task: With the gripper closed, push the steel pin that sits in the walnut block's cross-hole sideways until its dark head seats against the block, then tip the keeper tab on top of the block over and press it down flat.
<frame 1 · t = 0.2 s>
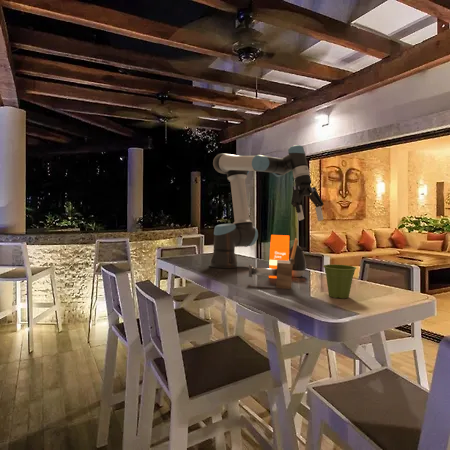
hand: (311, 220, 166), 28 cm above the table, tool tilted 20°, fingers open, 13 cm apart
hitch block: (283, 286, 150), on the table
pin: (269, 272, 150), point 5 cm above the table, slide at -10.0 cm
plant pot: (338, 297, 134), on the table
keeper tab: (294, 250, 148), point 15 cm above the table, hinge at 100.0°
orange juice: (278, 277, 171), on the table
pump dispenser: (295, 276, 174), on the table
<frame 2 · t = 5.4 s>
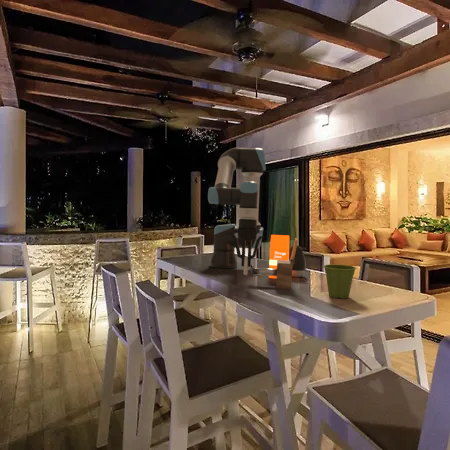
hand: (245, 274, 152), 4 cm above the table, tool pointing down, fingers closed
pin: (270, 272, 150), point 5 cm above the table, slide at -9.4 cm, touching gripper
everything else where it was.
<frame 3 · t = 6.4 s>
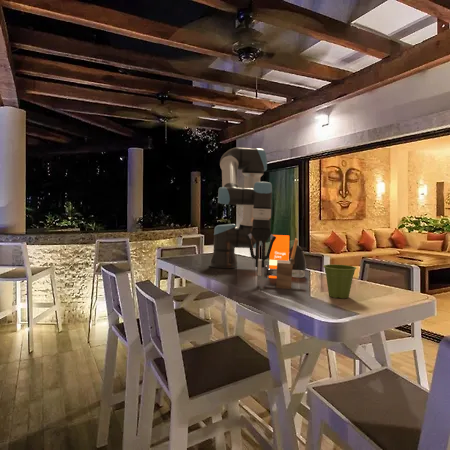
hand: (259, 275, 151), 4 cm above the table, tool pointing down, fingers closed
pin: (284, 272, 149), point 5 cm above the table, slide at -3.6 cm, touching gripper
everything else where it was.
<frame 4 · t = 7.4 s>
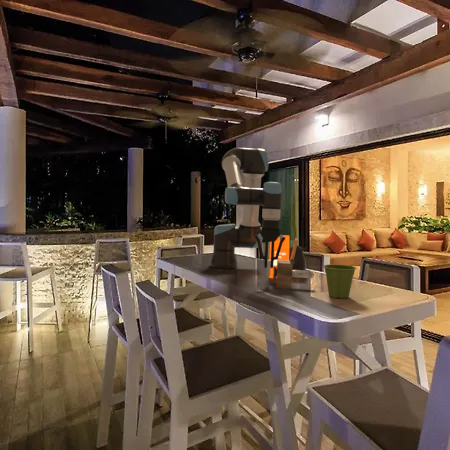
hand: (268, 275, 150), 4 cm above the table, tool pointing down, fingers closed
pin: (293, 273, 149), point 6 cm above the table, slide at 0.1 cm, touching gripper
everything else where it was.
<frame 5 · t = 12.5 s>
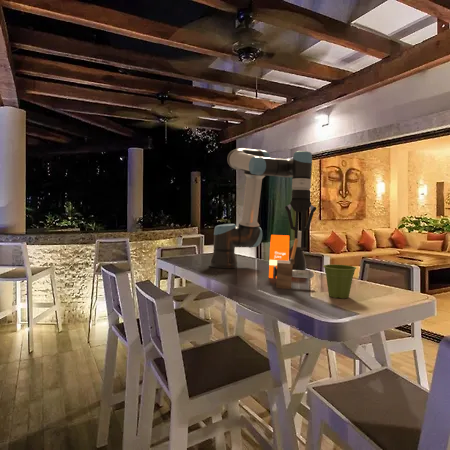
hand: (298, 246, 148), 17 cm above the table, tool pointing down, fingers closed
pin: (293, 273, 149), point 5 cm above the table, slide at 0.0 cm
keeper tab: (294, 250, 148), point 15 cm above the table, hinge at 100.0°, touching gripper
everything else where it was.
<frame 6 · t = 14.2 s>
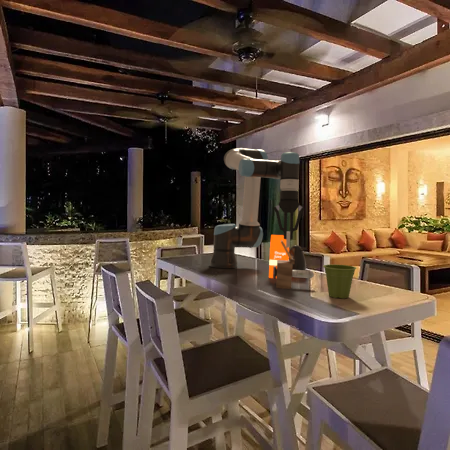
hand: (287, 247, 149), 16 cm above the table, tool pointing down, fingers closed
keeper tab: (287, 251, 149), point 15 cm above the table, hinge at 59.4°, touching gripper
everything else where it was.
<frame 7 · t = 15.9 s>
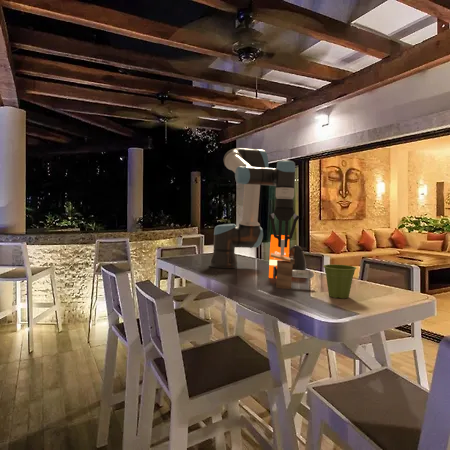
hand: (282, 255, 149), 13 cm above the table, tool pointing down, fingers closed
keeper tab: (281, 257, 149), point 12 cm above the table, hinge at 12.1°
everything else where it was.
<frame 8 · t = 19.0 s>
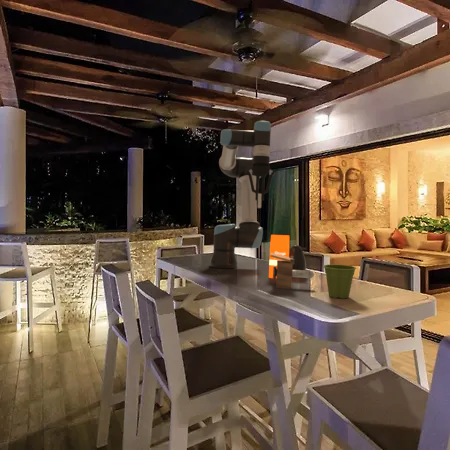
hand: (259, 207, 164), 32 cm above the table, tool pointing down, fingers closed
nothing on the table moved.
at the end: pin slide at 0.0 cm; keeper tab at +12° (first picture: +100°) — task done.
